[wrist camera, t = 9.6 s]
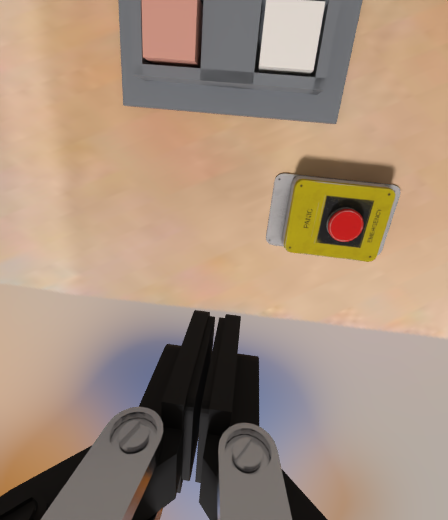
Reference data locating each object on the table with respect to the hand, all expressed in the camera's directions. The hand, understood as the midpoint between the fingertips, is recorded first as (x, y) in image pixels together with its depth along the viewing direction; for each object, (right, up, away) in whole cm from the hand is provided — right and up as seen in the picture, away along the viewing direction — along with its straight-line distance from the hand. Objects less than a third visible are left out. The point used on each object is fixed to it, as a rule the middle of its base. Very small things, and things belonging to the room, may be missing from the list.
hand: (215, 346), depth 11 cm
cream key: (+7, +24, +18) cm, 31 cm away
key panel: (+1, +26, +21) cm, 33 cm away
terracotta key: (-4, +26, +19) cm, 32 cm away
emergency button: (+14, +9, +27) cm, 32 cm away
